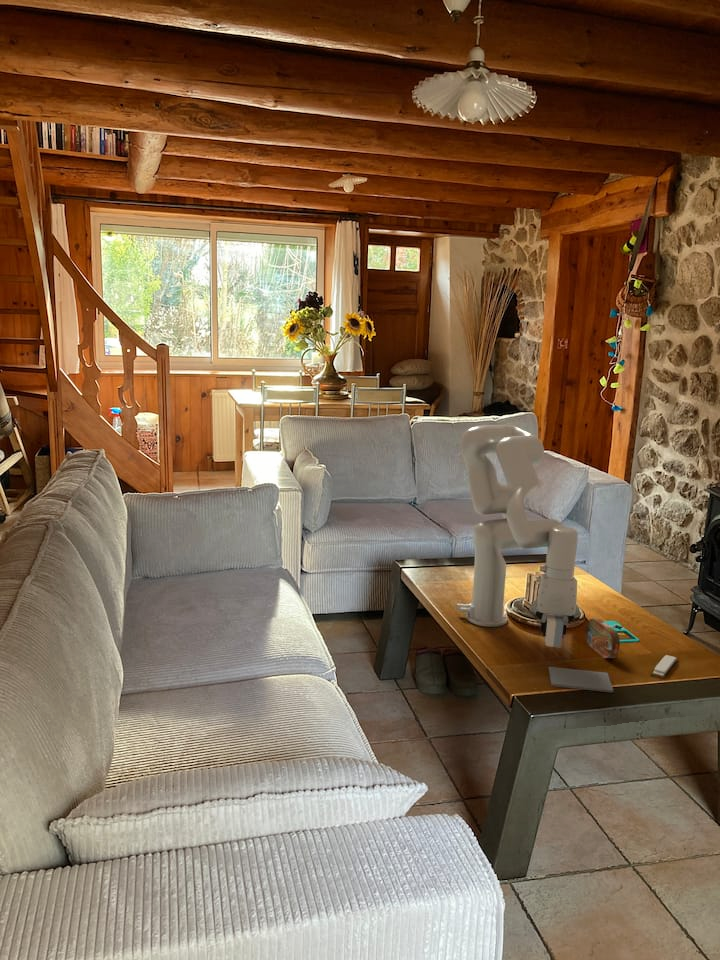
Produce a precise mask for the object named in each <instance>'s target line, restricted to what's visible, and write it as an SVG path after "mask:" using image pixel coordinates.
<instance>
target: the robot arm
mask: <svg viewBox="0 0 720 960" xmlns="http://www.w3.org/2000/svg"><path fill="white" fill-rule="evenodd" d="M460 453H461V457H462V460H463V463H464V465H465V468H466V469H465V470H466V471H467V476H468V482H469V484H468V485H469V488H470V497H471V501H472V506H473V509H474V511H475V513H476V514H478V515H480V516H494V515H495V516H497V515H502V517H503V518H492V519H487V520H486V519H485V520H483V521H481V522H479V523H477V524H476V525H475V527H474V528H473V533H472V539H473V548H474V565H473V567H474V568H473V581H472V583H473V584H472V598H471V601H470V603H467V604H464V603H456V604H457V605H456V610H457V611H458V610H459V611H460V613H466V614H465V619H466V620H467V621H468V622H469V623H471V624H474V625H476V626H480V627H487V628H495V627H501V626H504V625H506V624H507V623H508V616H507V615H506V614H505V613H504V600H505V599H504V598H505V588H506V578H507V577H506V575H507V563H506V561H505V559H504V556H503V554H502V551H506V550H512V549H513V550H514V549H518V548H519V549H520V548H522V549H525V550H529V549H530V550H531V549H537V548H547V549H546V558H545V560H546V561H545V564H544V565H543V566H541V565H540V566H539V572H542V574H541V578H540V581H539V585H538V591H537V596H536V598H535V600H534V601H533V602H532V603H531V605H529V607H528V608H529V612H531V613H533V614H534V615H535V616H536V617H537V618H538V620H540V633H542V637H543V638H544V637H545V636H546V627H547V622H546V621H547V620H546V618H547V615H548V614H553V615H562V618H563V622H564V625H563V634H562V640H564V636H565V635H566V634H567V626H568V625H569V624H570V622H572V621H573V620H575V619H576V618H579V617H581V616H582V611H581V609H580V607H579V606H578V604H577V599H578V598H577V595H578V594H577V592H578V588H577V584H578V583H577V579H576V578H575V577H574V575H575V566H576V556H577V550H578V549H577V548H578V542H579V541H578V539H579V533H578V531H577V530H576V529H575V528H573V527H569V526H566V525H564V524H563V523H562V522H560V521H559V520H557V519H555V518H545V519H535V520H529V519H528V517H527V512H526V506H525V505H526V504H525V498H526V497H527V496H529V494H531V493H533V492H534V491H536V489H537V488H538V487H539V486H540V479H539V477H538V474H537V471H536V469H535V467H534V464H535V465H536V464H538V463H540V462H541V461H542V460H543V459H544V456H545V447H544V445H543V443H542V441H541V440H540V439H539V438H538V437H537V436H536V435H535V434H533V433H530V432H529V431H526V430H524V429H522V428H520V427H518V426H516V425H513V424H493V425H492V424H487V425H486V424H485V425H475V426H473V427H470V428H468V429H467V430H466V431H465V432H464V433H463V435H462V437H461V442H460ZM487 454H496V456H497V460H498V463H499V465H500V467H501V469H502V472H503V476H504V478H505V481H506V482H499V479H498V476H497V471H496V467H495V465H494V464H493V462H492V461H491V459H489V457H487Z"/></svg>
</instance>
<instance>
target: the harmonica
mask: <svg viewBox="0 0 720 960" xmlns="http://www.w3.org/2000/svg"><path fill="white" fill-rule="evenodd" d="M677 662H678V657H676V656H672V655H668V654H666V655H664V656H663V657H662V658H661V660H660V661H659V662H658V663H657V664H656V666H655V667H654V670H653V672H652V673H651V674H650V676H651V677H654V678H658V679H661V680H663V679H664V678H665V677H666V675H668V673H669V672H670V670H671V669H672V668H673V667H674V666H673V665H675V664H676V663H677Z"/></svg>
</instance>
